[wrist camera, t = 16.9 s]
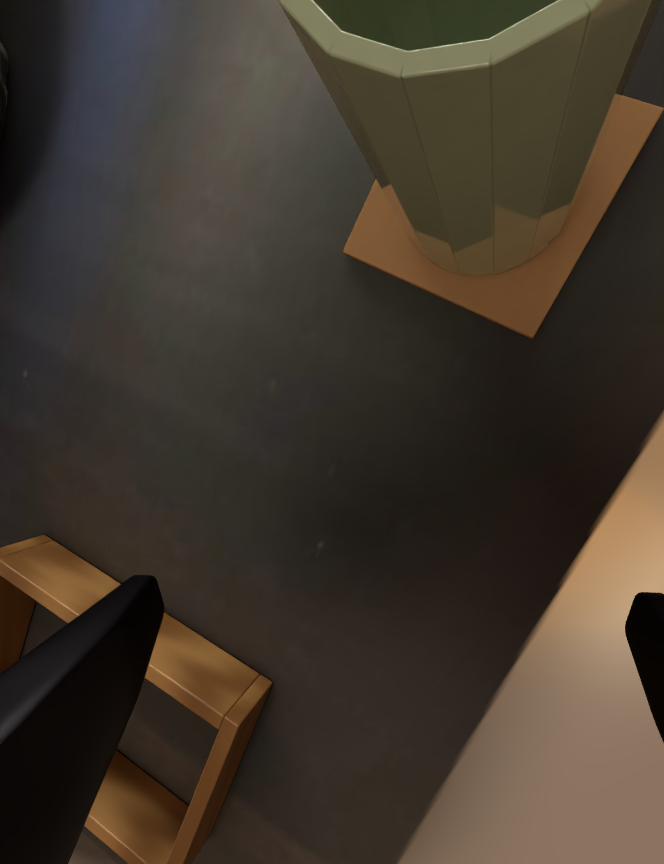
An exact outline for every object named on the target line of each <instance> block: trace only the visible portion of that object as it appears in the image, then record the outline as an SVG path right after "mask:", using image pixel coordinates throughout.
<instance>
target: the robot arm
mask: <svg viewBox="0 0 664 864" xmlns="http://www.w3.org/2000/svg"><path fill="white" fill-rule="evenodd" d="M163 616H164V603H163V599H162V596H161V592H160V589H159V586H158V582H157V580H156V578H155V577H154V576H151V575H134V576H132V577H130V578H129V579H127V580H126V581H125V582H123V583H122V584H121V585H119V586H118V587H117V588H115V589H114V590H112V591H111V592H110V593H108V594H107V595H106V596H104V597H103V598H102V599H100V600H99V601H98V602H96V603H95V604H94V605H92V606H91V607H90V608H88V609H87V610H86V611H84V612H83V613H82V614H80V615H79V616H77V617H76V618H75V619H73V620H72V621H71V622H69V623H68V624H67V625H65V626H64V627H63V628H61V629H60V630H59V631H57V632H56V633H55V634H53V635H52V636H51V637H49V638H48V639H47V640H45V641H44V642H42V643H41V644H40V645H38V646H37V647H36V648H34V649H33V650H32V651H30V652H29V653H28V654H26V655H25V656H24V657H22V658H21V659H20V660H18V661H17V662H16V663H14V664H13V665H12V666H10V667H9V668H8V669H6V670H5V671H3V672H2V673H1V674H0V864H68V862H69V860H70V858H71V855H72V853H73V851H74V848H75V846H76V844H77V841H78V839H79V836H80V834H81V832H82V829H83V827H84V825H85V822H86V820H87V817H88V815H89V813H90V810H91V808H92V806H93V803H94V801H95V798H96V796H97V794H98V791H99V789H100V787H101V784H102V782H103V779H104V777H105V775H106V772H107V770H108V768H109V765H110V763H111V760H112V758H113V756H114V753H115V751H116V749H117V746H118V744H119V741H120V739H121V737H122V734H123V732H124V730H125V727H126V725H127V722H128V720H129V718H130V715H131V713H132V711H133V708H134V706H135V703H136V701H137V698H138V696H139V693H140V690H141V687H142V684H143V681H144V678H145V675H146V672H147V668H148V665H149V662H150V659H151V655H152V652H153V649H154V646H155V642H156V639H157V636H158V633H159V629H160V626H161V623H162V620H163ZM625 632H626V637H627V640H628V643H629V646H630V649H631V652H632V655H633V658H634V661H635V664H636V667H637V670H638V673H639V676H640V679H641V682H642V685H643V688H644V691H645V694H646V697H647V700H648V703H649V706H650V709H651V712H652V715H653V718H654V720H655V723H656V726H657V728H658V730H659V733H660V735H661V737H662V740H663V742H664V594H662V593H648V592H641V593H638V594H637V595H636V596H635V598H634V600H633V603H632V606H631V610H630V612H629V615H628V618H627V621H626V625H625Z"/></svg>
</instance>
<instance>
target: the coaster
mask: <svg viewBox="0 0 664 864" xmlns="http://www.w3.org/2000/svg"><path fill="white" fill-rule="evenodd" d="M663 110H664V108H662V107H658V106H655V105H652V104H648V103H645V102H642V101H638V100H635V99H632V98H628V97H625V96H622V97H621V99H620V102H619V104H618V106H617V109H616V111H615V114H614V116H613V118H612V121H611V123H610V125H609V128H608V130H607V133H606V135H605V137H604V140H603V142H602V144H601V147H600V149H599V152H598V154H597V156H596V159H595V161H594V163H593V166H592V168H591V171H590V173H589V175H588V178H587V180H586V182H585V185H584V187H583V190H582V192H581V194H580V197H579V199H578V201H577V202H576V204H575V206H574V208H573V210H572V212H571V214H570V216H569V218H568V220H567V222H566V223H565V225H564V226H563V228H562V230H561V231H560V232H559V234H558V235H557V236H556V237H555V238H554V240H553V241H552V242H551V243H550V244H549V245H548V246H547V247H546V248H545V249H544V250H543V251H541V252H540V253H539V254H537V255H536V256H535V257H533V258H532V259H530V260H529V261H527V262H525V263H524V264H522V265H520V266H518V267H515V268H513V269H511V270H508V271H505V272H502V273H498V274H492V275H486V276H468V275H461V274H456V273H453V272H450V271H447V270H444V269H442V268H440V267H439V266H437V265H435V264H433V263H432V262H431V261H429V260H428V259H427V258H426V257H425V256H424V255H423V254H422V253H420V251H419V250H418V249H417V248H416V246H415V245H414V244H413V242H412V241H411V240H410V239H409V238H408V236H407V234H406V232H405V231H404V229H403V227H402V225H401V223H400V222H399V220H398V218H397V216H396V214H395V212H394V211H393V209H392V207H391V205H390V203H389V201H388V200H387V198H386V196H385V194H384V192H383V191H382V189H381V187H380V185H379V183H378V181H377V180H375V182H374V185H373V187H372V189H371V191H370V193H369V195H368V198H367V200H366V202H365V204H364V206H363V209H362V211H361V213H360V215H359V217H358V219H357V222H356V224H355V226H354V228H353V230H352V233H351V235H350V237H349V239H348V241H347V243H346V246H345V248H344V250H343V253H344V254H345V255H347V256H350V257H352V258H354V259H356V260H358V261H361V262H363V263H365V264H367V265H369V266H372V267H374V268H376V269H378V270H381V271H383V272H385V273H387V274H389V275H392V276H394V277H396V278H398V279H400V280H403V281H405V282H407V283H409V284H411V285H414V286H416V287H418V288H420V289H422V290H425V291H427V292H429V293H431V294H433V295H436V296H438V297H440V298H442V299H444V300H447V301H449V302H451V303H453V304H455V305H458V306H460V307H462V308H464V309H466V310H469V311H471V312H473V313H475V314H477V315H480V316H482V317H484V318H486V319H488V320H491V321H493V322H495V323H497V324H500V325H502V326H504V327H506V328H508V329H511V330H513V331H515V332H517V333H519V334H522V335H524V336H526V337H528V338H530V339H532V338H533V337H534V335H535V334H536V332H537V330H538V328H539V327H540V325H541V323H542V321H543V320H544V318H545V316H546V314H547V313H548V311H549V309H550V308H551V306H552V304H553V302H554V301H555V299H556V297H557V295H558V294H559V292H560V290H561V288H562V287H563V285H564V283H565V281H566V280H567V278H568V276H569V274H570V273H571V271H572V269H573V267H574V266H575V264H576V262H577V260H578V259H579V257H580V255H581V253H582V252H583V250H584V248H585V246H586V245H587V243H588V241H589V239H590V238H591V236H592V234H593V232H594V231H595V229H596V227H597V225H598V224H599V222H600V220H601V218H602V217H603V215H604V213H605V212H606V210H607V208H608V206H609V205H610V203H611V201H612V199H613V198H614V196H615V194H616V192H617V191H618V189H619V187H620V185H621V184H622V182H623V180H624V178H625V177H626V175H627V173H628V171H629V170H630V168H631V166H632V164H633V163H634V161H635V159H636V157H637V156H638V154H639V152H640V150H641V149H642V147H643V145H644V143H645V142H646V140H647V138H648V136H649V135H650V133H651V131H652V129H653V128H654V126H655V124H656V122H657V121H658V119H659V117H660V116H661V114H662V112H663Z"/></svg>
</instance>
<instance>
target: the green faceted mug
mask: <svg viewBox="0 0 664 864" xmlns="http://www.w3.org/2000/svg"><path fill="white" fill-rule="evenodd" d="M278 1H279V3H280V5H281V7H282V8H283V10H284V12H285V14H286V16H287V17H288V19H289V21H290V23H291V25H292V27H293V28H294V30H295V32H296V34H297V36H298V38H299V39H300V41H301V43H302V45H303V47H304V48H305V50H306V52H307V54H308V56H309V58H310V59H311V61H312V63H313V65H314V67H315V68H316V70H317V72H318V74H319V76H320V78H321V79H322V81H323V83H324V85H325V87H326V89H327V90H328V92H329V94H330V96H331V98H332V99H333V101H334V103H335V105H336V107H337V109H338V110H339V112H340V114H341V116H342V118H343V119H344V121H345V123H346V125H347V127H348V129H349V130H350V132H351V134H352V136H353V138H354V140H355V141H356V143H357V145H358V147H359V149H360V150H361V152H362V154H363V156H364V158H365V160H366V161H367V163H368V165H369V167H370V169H371V171H372V172H373V174H374V176H375V178H376V180H377V181H378V183H379V185H380V187H381V189H382V191H383V192H384V194H385V196H386V198H387V200H388V201H389V203H390V205H391V207H392V209H393V211H394V212H395V214H396V216H397V218H398V220H399V222H400V223H401V225H402V227H403V229H404V231H405V232H406V234H407V236H408V238H409V239H410V240H411V241H412V242H413V244H414V245H415V246H416V248H417V249H418V250H419V251H420V253H422V254H423V255H424V256H425V257H426V258H427V259H428V260H429V261H431V262H432V263H433V264H435V265H437V266H439V267H440V268H442V269H444V270H447V271H450V272H453V273H456V274H461V275H468V276H486V275H492V274H498V273H502V272H505V271H508V270H511V269H513V268H515V267H518V266H520V265H522V264H524V263H525V262H527V261H529V260H530V259H532V258H533V257H535V256H536V255H537V254H539V253H540V252H541V251H543V250H544V249H545V248H546V247H547V246H548V245H549V244H550V243H551V242H552V241H553V240H554V238H555V237H556V236H557V235H558V234H559V232H560V231H561V230H562V228H563V226H564V225H565V223H566V222H567V220H568V218H569V216H570V214H571V212H572V210H573V208H574V206H575V204H576V202H577V201H578V199H579V197H580V194H581V192H582V190H583V187H584V185H585V182H586V180H587V178H588V175H589V173H590V171H591V168H592V166H593V163H594V161H595V159H596V156H597V154H598V152H599V149H600V147H601V144H602V142H603V140H604V137H605V135H606V133H607V130H608V128H609V125H610V123H611V121H612V118H613V116H614V114H615V111H616V109H617V106H618V104H619V102H620V99H621V97H622V95H623V92H624V90H625V87H626V85H627V83H628V80H629V78H630V76H631V73H632V71H633V68H634V66H635V64H636V61H637V59H638V57H639V54H640V52H641V49H642V47H643V45H644V42H645V40H646V38H647V35H648V33H649V30H650V28H651V26H652V23H653V21H654V19H655V16H656V14H657V11H658V9H659V7H660V4H661V2H662V0H278Z"/></svg>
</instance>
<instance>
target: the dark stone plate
mask: <svg viewBox="0 0 664 864" xmlns="http://www.w3.org/2000/svg"><path fill="white" fill-rule="evenodd" d="M0 41H1V40H0ZM8 63H9V60H8V55H7V54H6V51H5V47H4V45H3V44H2V43H1V42H0V140H1V139H2V135H3V133H4V130H5V124H4V123H5V117H6V109H7V108H6V105H7V89H6V82H7V73H8V70H9V65H8Z"/></svg>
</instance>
